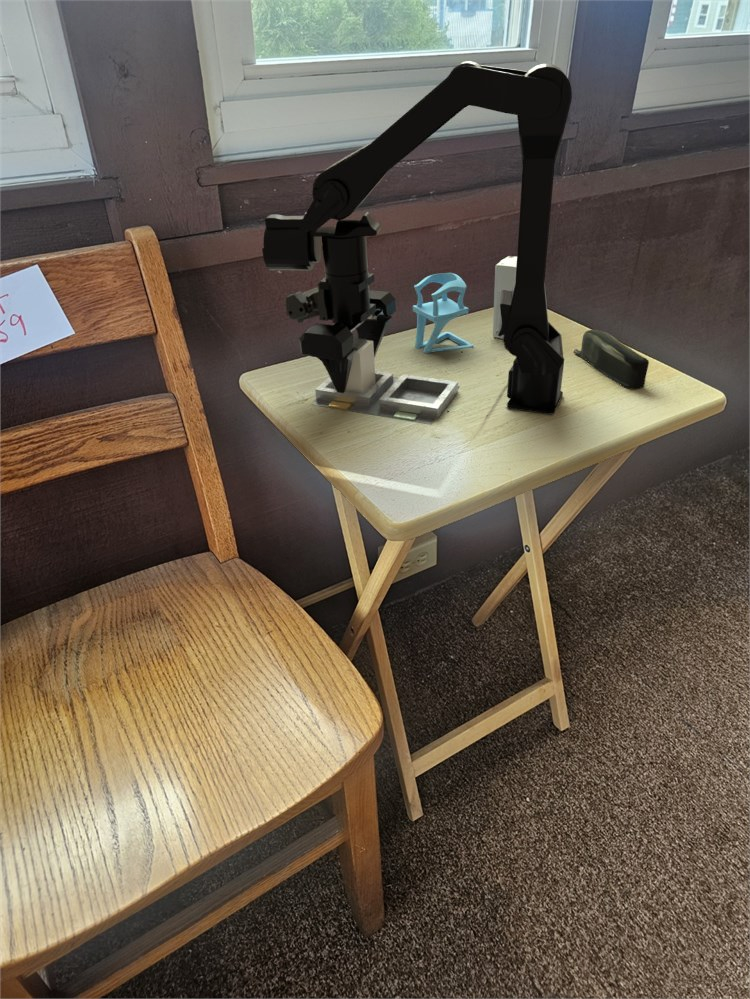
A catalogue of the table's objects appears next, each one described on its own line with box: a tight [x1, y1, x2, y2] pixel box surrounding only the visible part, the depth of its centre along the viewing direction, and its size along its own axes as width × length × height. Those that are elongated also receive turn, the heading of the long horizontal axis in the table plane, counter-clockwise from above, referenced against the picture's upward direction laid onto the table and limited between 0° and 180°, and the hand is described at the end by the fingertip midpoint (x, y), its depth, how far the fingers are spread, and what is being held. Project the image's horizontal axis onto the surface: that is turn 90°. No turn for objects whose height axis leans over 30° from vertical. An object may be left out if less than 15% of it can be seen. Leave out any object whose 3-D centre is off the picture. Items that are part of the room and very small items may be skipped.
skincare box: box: [492, 255, 517, 340], centre depth 111 cm, size 6×4×12 cm
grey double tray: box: [311, 370, 461, 425], centre depth 96 cm, size 18×12×2 cm, turn 66°
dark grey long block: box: [573, 329, 650, 390], centre depth 100 cm, size 5×3×15 cm
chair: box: [412, 272, 474, 354], centre depth 107 cm, size 8×8×12 cm
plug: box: [334, 337, 376, 394], centre depth 96 cm, size 5×4×7 cm
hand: (354, 379), depth 97 cm, fingers open, 9 cm apart
